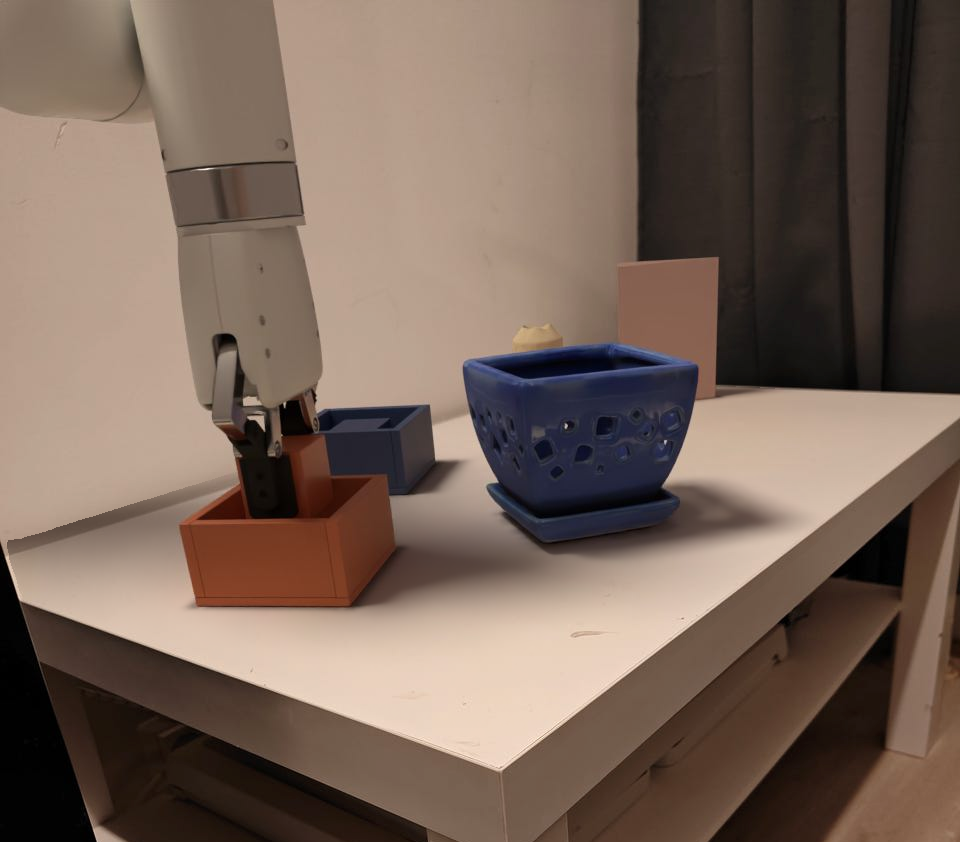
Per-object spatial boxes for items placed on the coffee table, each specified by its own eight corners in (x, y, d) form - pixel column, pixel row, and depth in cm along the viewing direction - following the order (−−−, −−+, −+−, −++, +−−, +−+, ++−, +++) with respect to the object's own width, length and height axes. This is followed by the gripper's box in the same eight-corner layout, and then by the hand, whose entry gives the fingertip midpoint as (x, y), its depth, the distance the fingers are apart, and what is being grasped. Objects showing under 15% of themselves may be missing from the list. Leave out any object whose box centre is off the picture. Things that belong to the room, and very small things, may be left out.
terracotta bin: (196, 606, 61) (177, 524, 59) (261, 550, 70) (247, 477, 68) (350, 606, 59) (337, 521, 56) (396, 549, 68) (386, 474, 66)
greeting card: (716, 395, 108) (720, 256, 102) (702, 409, 102) (705, 262, 96) (621, 395, 113) (619, 262, 107) (602, 408, 107) (599, 268, 101)
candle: (566, 410, 107) (562, 319, 103) (565, 421, 102) (561, 326, 98) (518, 413, 108) (512, 323, 104) (515, 424, 103) (509, 329, 99)
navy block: (335, 480, 85) (328, 430, 83) (351, 467, 89) (344, 419, 87) (382, 478, 84) (376, 429, 82) (396, 465, 88) (390, 417, 86)
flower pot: (620, 485, 78) (618, 337, 73) (701, 529, 67) (705, 357, 62) (469, 511, 75) (456, 358, 70) (527, 561, 63) (516, 383, 58)
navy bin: (292, 496, 83) (282, 434, 81) (332, 465, 93) (324, 408, 90) (407, 494, 81) (399, 430, 79) (435, 462, 90) (430, 404, 88)
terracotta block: (246, 521, 61) (233, 453, 59) (273, 500, 65) (262, 436, 63) (311, 520, 60) (299, 451, 58) (334, 499, 64) (324, 434, 62)
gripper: (239, 207, 63) (285, 472, 71) (101, 213, 48) (178, 549, 56) (345, 197, 61) (380, 469, 69) (235, 200, 46) (296, 547, 54)
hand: (289, 502), depth 62 cm, fingers closed on terracotta block, 4 cm apart
